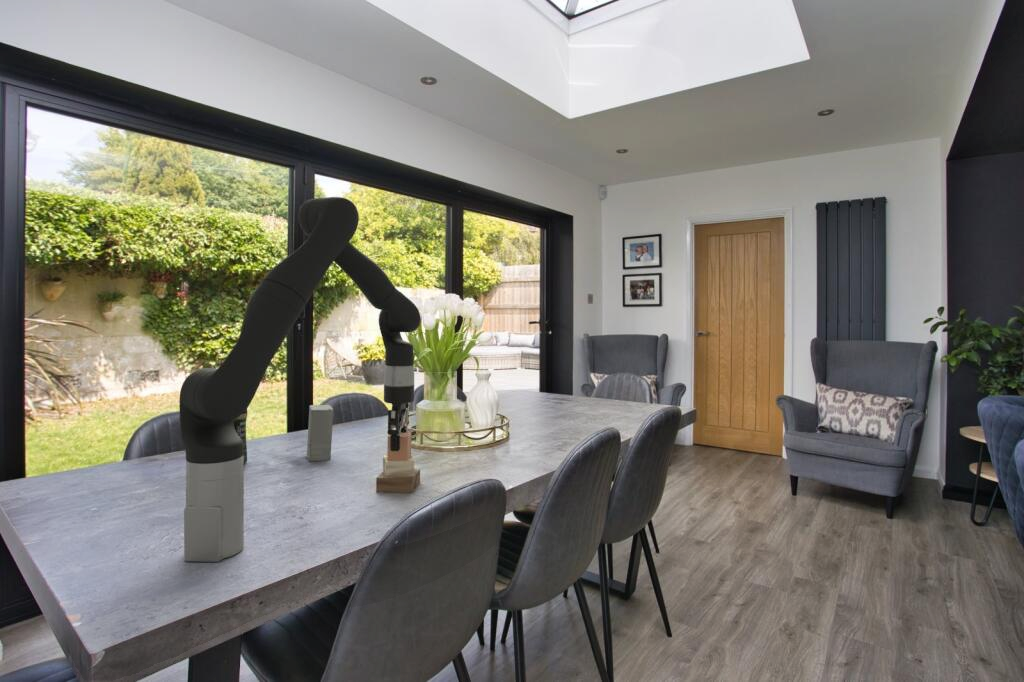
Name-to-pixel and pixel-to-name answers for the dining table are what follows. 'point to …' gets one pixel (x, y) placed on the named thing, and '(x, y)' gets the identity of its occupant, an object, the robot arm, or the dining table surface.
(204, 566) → the dining table surface
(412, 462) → the tower middle
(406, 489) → the tower base
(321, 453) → the skincare box
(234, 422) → the coffee jar
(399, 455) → the peach cube on top
